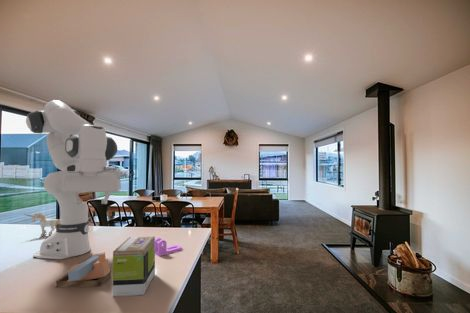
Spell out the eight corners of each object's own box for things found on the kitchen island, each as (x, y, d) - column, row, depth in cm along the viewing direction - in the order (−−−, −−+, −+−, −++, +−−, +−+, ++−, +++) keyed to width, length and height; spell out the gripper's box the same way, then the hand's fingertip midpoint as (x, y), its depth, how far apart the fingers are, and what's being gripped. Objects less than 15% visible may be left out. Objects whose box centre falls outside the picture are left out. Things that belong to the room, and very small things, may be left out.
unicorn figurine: (31, 234, 143) (32, 212, 144) (67, 233, 147) (67, 211, 147) (22, 238, 136) (23, 214, 137) (60, 236, 140) (61, 213, 140)
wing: (97, 261, 94) (95, 254, 94) (105, 259, 94) (104, 252, 94) (69, 281, 78) (67, 272, 78) (79, 279, 78) (78, 270, 78)
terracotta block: (70, 283, 84) (67, 262, 85) (77, 278, 88) (74, 257, 89) (104, 276, 85) (101, 255, 85) (110, 271, 89) (106, 251, 89)
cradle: (55, 287, 82) (56, 281, 82) (70, 276, 89) (70, 271, 89) (100, 286, 83) (100, 280, 83) (110, 276, 90) (110, 270, 90)
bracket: (158, 256, 110) (159, 241, 111) (153, 253, 114) (153, 238, 115) (183, 249, 119) (183, 235, 119) (177, 247, 123) (178, 233, 123)
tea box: (128, 275, 91) (129, 236, 91) (155, 274, 92) (156, 235, 92) (111, 297, 76) (112, 249, 76) (143, 296, 77) (144, 249, 77)
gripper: (124, 167, 94) (123, 202, 94) (70, 167, 93) (69, 202, 93) (117, 167, 88) (116, 205, 87) (59, 167, 87) (58, 205, 86)
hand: (91, 203), depth 90 cm, fingers open, 8 cm apart
